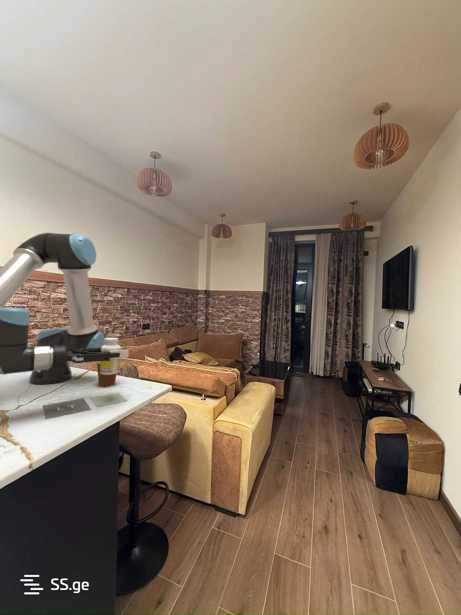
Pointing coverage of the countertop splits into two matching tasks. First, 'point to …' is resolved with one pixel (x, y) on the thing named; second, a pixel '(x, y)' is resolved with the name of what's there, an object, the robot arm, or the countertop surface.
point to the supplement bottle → (113, 364)
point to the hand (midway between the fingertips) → (124, 352)
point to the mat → (108, 399)
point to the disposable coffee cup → (105, 378)
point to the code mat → (65, 408)
